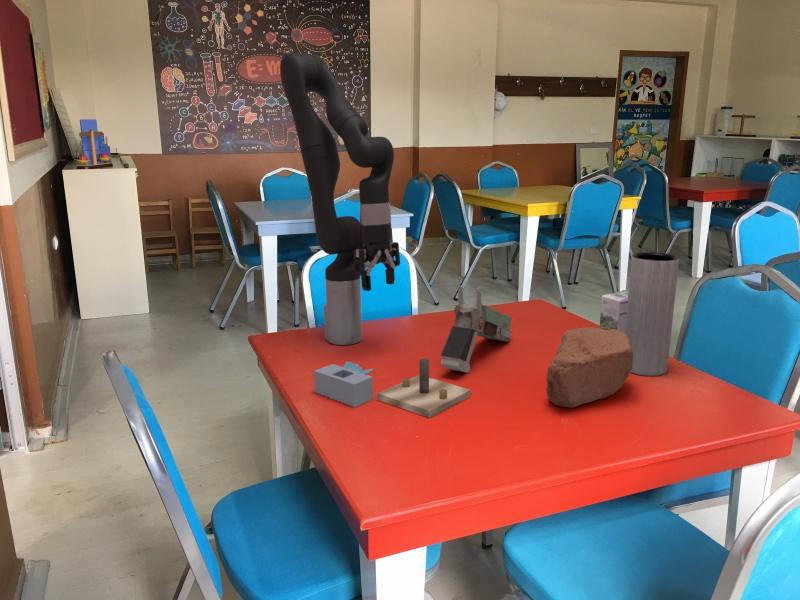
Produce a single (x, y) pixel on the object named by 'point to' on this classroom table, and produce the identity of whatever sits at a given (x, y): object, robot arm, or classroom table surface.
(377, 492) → the classroom table surface
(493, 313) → the ray gun
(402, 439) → the classroom table surface
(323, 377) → the grey rectangular block
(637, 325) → the vase
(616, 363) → the stone
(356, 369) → the decorative object
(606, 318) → the syrup box
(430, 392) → the post base
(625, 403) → the classroom table surface
